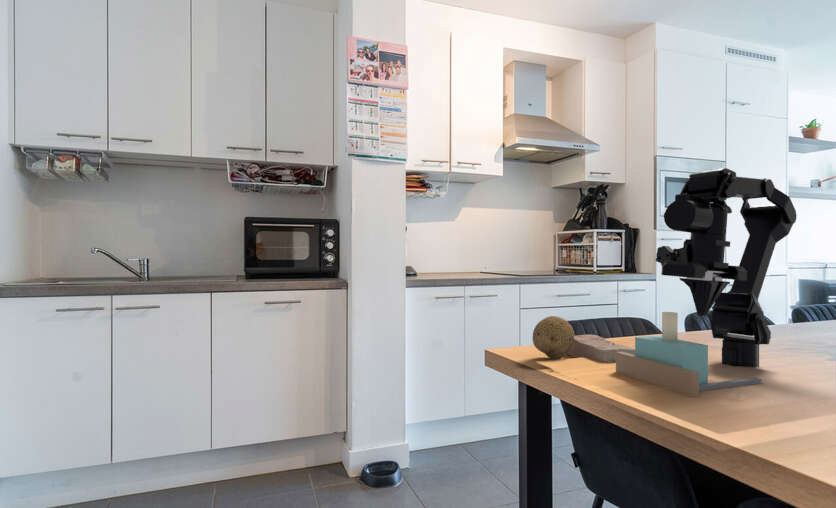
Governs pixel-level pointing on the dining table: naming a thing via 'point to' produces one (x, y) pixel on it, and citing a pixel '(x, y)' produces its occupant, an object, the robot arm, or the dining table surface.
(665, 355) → the dowel block
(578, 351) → the brick
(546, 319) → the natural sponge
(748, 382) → the track
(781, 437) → the dining table surface
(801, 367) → the dining table surface
